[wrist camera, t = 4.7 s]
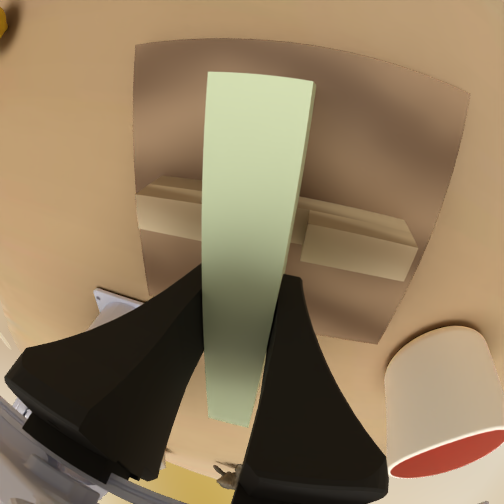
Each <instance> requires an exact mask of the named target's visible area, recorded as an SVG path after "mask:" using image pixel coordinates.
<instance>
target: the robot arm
mask: <svg viewBox="0 0 504 504" xmlns="http://www.w3.org/2000/svg"><path fill="white" fill-rule="evenodd" d="M93 292H94V296H95V299H96V302H97V305H98V308H99V311H100V314H99V315H98V316H97V317H96V319H95V320H94V321H93V323H92V324H91V325H90V326H89V328H88V329H87V330H86V332H83V333H80V334H77V335H75V336H71V337H68V338H65V339H62V340H58V341H55V342H51V343H46V344H42V345H38V346H34V347H28V348H26V349H25V350H24V352H23V353H22V354H21V355H20V357H19V358H18V359H17V361H16V362H15V364H14V365H13V366H12V367H11V369H10V370H9V371H8V373H7V374H6V376H5V377H4V378H5V383H6V384H7V385H8V387H9V388H10V389H11V390H12V391H13V393H14V394H15V395H16V396H17V399H16V400H15V402H14V404H13V406H11V405H10V404H9V403H8V402H6V401H5V400H4V399H3V398H2V397H1V396H0V504H99V503H97V502H98V500H101V499H102V497H103V496H105V495H106V494H107V492H110V493H112V494H114V495H116V496H118V497H120V498H122V499H124V500H127V501H129V502H131V503H133V504H187V503H184V502H181V501H178V500H175V499H172V498H169V497H166V496H164V495H161V494H158V493H156V492H153V491H151V490H148V489H146V488H144V487H141V486H139V485H136V484H134V483H132V482H130V481H128V479H129V477H131V478H133V479H135V480H138V481H139V480H140V478H141V479H143V480H146V481H151V480H154V479H156V478H158V474H159V470H160V466H161V463H162V459H163V456H164V452H165V449H166V445H167V442H168V439H169V436H170V433H171V429H172V426H173V423H174V420H175V417H176V414H177V412H178V409H179V406H180V403H181V400H182V398H183V395H184V392H185V389H186V387H187V384H188V382H189V380H190V378H191V375H192V373H193V371H194V369H195V367H196V365H197V363H198V361H199V359H200V357H201V355H202V353H203V351H204V335H203V306H202V263H200V264H199V265H198V266H197V267H195V268H194V269H193V270H191V271H190V272H189V273H187V274H186V275H185V276H183V277H182V278H181V279H179V280H178V281H176V282H175V283H174V284H172V285H171V286H169V287H168V288H167V289H165V290H164V291H162V292H161V293H159V294H158V295H156V296H155V297H153V298H152V299H150V300H148V301H147V302H145V303H142V302H139V301H136V300H132V299H129V298H126V297H123V296H120V295H117V294H114V293H111V292H108V291H105V290H102V289H99V288H96V289H95V290H94V291H93ZM388 483H389V477H388V467H387V460H386V456H385V455H384V454H383V452H382V451H381V450H380V449H379V447H378V446H377V445H376V444H375V442H374V441H373V440H372V438H371V437H370V436H369V434H368V433H367V432H366V430H365V429H364V427H363V426H362V424H361V423H360V421H359V420H358V419H357V417H356V416H355V414H354V412H353V411H352V409H351V407H350V406H349V404H348V402H347V401H346V399H345V397H344V396H343V394H342V392H341V391H340V389H339V387H338V385H337V383H336V381H335V379H334V377H333V375H332V373H331V371H330V369H329V367H328V365H327V363H326V360H325V358H324V356H323V353H322V351H321V348H320V346H319V343H318V340H317V338H316V335H315V332H314V329H313V326H312V323H311V319H310V316H309V313H308V309H307V305H306V300H305V296H304V290H303V280H302V279H301V278H300V277H297V276H292V275H287V274H283V277H282V281H281V285H280V289H279V294H278V299H277V303H276V308H275V313H274V318H273V323H272V327H271V332H270V337H269V341H268V346H267V352H266V359H265V366H264V373H263V380H262V387H261V394H260V399H259V405H258V409H257V413H256V417H255V420H254V424H253V428H252V432H251V436H250V439H249V443H248V447H247V450H246V454H245V458H244V461H243V465H242V468H241V472H240V475H239V479H238V482H237V485H236V489H235V492H234V496H233V499H232V502H231V504H368V503H371V502H374V501H377V500H379V499H381V498H383V497H384V496H385V495H386V494H387V493H388ZM479 504H489V502H488V501H485V502H482V503H479Z"/></svg>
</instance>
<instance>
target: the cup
mask: <svg viewBox="0 0 504 504" xmlns="http://www.w3.org/2000/svg"><path fill="white" fill-rule="evenodd" d="M384 383H385V398H386V421H387V467H388V475H390V476H392V477H396V478H421V477H427V476H433V475H437V474H441V473H445V472H448V471H452V470H455V469H458V468H460V467H463V466H465V465H468V464H470V463H472V462H475V461H477V460H478V459H481V458H482V457H484V456H486V455H488V454H489V453H491V452H492V451H494V450H496V449H497V448H498V447H499V446H501V445H502V444H503V443H504V393H503V390H502V386H501V383H500V380H499V377H498V373H497V370H496V367H495V364H494V362H493V359H492V356H491V353H490V350H489V348H488V345H487V342H486V340H485V339H484V337H483V336H482V335H481V334H480V333H479V332H477V331H476V330H474V329H471V328H469V327H464V326H448V327H442V328H439V329H435V330H432V331H430V332H427V333H425V334H423V335H421V336H419V337H417V338H415V339H413V340H412V341H410V342H409V343H408V344H406V345H405V346H404V347H403V348H401V349H400V350H399V351H398V352H397V353H396V355H395V356H394V357H393V358H392V360H391V361H390V363H389V365H388V367H387V369H386V373H385V378H384Z"/></svg>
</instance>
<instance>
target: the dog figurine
mask: <svg viewBox="0 0 504 504" xmlns="http://www.w3.org/2000/svg"><path fill="white" fill-rule="evenodd" d="M213 467H214V469H215V470H216V471H217V472H218V473H220V474H221V475H222V477H221V478H220V479H218V480H217V482H218V483H219V484H220V485H221V486H222V487H223V488H226V489H234V490H235V489H236V485H237V482H238V479H239V475H240V472H241V468H242V465H241V464H238V466H237V467H236V469H235V471H236V472H233V473H231V472H227V473H225V472H223V471H222V470H221V469H220V468H219V467H218V466H216V465H213Z"/></svg>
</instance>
